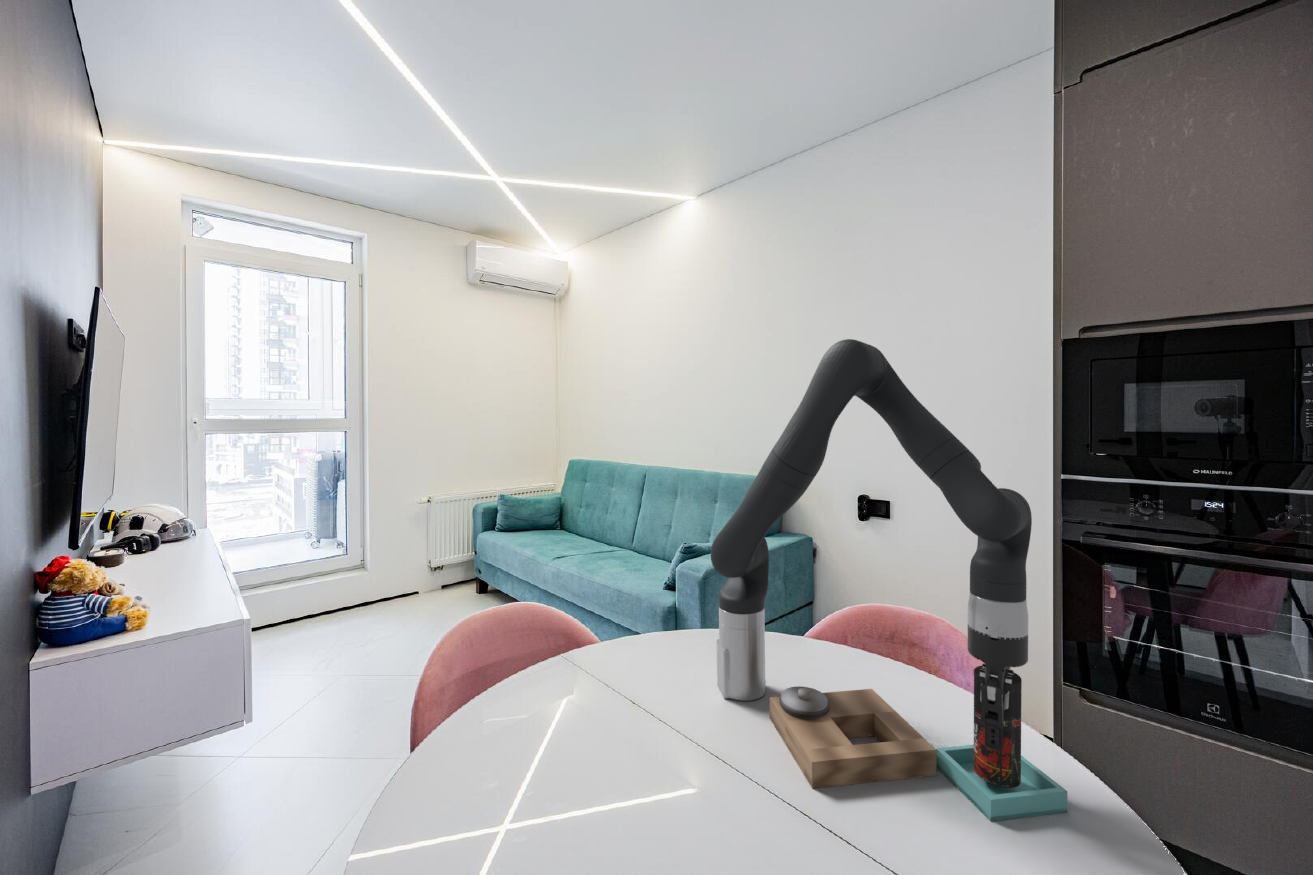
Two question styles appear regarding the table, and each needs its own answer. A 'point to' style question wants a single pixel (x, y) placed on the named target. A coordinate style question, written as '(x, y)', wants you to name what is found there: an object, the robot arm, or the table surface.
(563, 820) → the table surface
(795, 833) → the table surface
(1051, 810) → the tray
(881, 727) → the block
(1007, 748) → the deodorant
